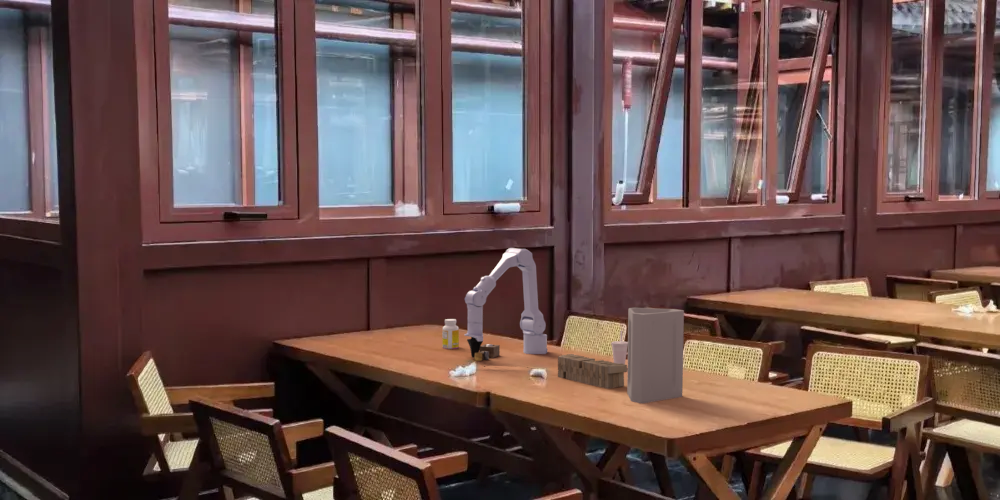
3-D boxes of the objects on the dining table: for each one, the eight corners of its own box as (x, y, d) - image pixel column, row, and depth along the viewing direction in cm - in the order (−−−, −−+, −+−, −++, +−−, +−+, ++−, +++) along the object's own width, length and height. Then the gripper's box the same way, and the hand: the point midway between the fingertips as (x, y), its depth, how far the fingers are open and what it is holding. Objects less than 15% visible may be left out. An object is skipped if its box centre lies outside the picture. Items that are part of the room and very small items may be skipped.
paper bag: (650, 389, 356) (652, 306, 355) (683, 396, 344) (685, 310, 343) (608, 395, 345) (609, 309, 343) (641, 403, 333) (642, 314, 331)
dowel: (488, 360, 405) (488, 351, 405) (488, 361, 403) (488, 352, 403) (484, 360, 405) (484, 351, 405) (483, 361, 404) (483, 351, 403)
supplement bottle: (459, 349, 437) (459, 318, 436) (457, 352, 430) (457, 320, 429) (443, 349, 437) (443, 318, 436) (441, 352, 431) (441, 320, 430)
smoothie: (627, 370, 392) (627, 332, 391) (609, 369, 394) (610, 331, 393) (628, 367, 399) (629, 330, 398) (611, 366, 400) (612, 329, 399)
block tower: (555, 379, 379) (609, 389, 355) (554, 355, 379) (609, 364, 355) (572, 377, 384) (627, 387, 360) (571, 353, 383) (626, 362, 360)
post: (492, 359, 414) (492, 344, 414) (492, 360, 412) (492, 345, 411) (486, 359, 414) (486, 344, 414) (486, 360, 412) (486, 345, 411)
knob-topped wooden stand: (485, 354, 417) (485, 344, 416) (499, 355, 414) (499, 345, 414) (469, 360, 402) (469, 349, 402) (484, 361, 400) (484, 350, 400)
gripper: (459, 320, 411) (459, 354, 412) (470, 325, 397) (470, 361, 398) (477, 319, 413) (477, 354, 414) (488, 324, 399) (488, 360, 400)
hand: (474, 357), depth 406 cm, fingers closed, pressing on knob-topped wooden stand
